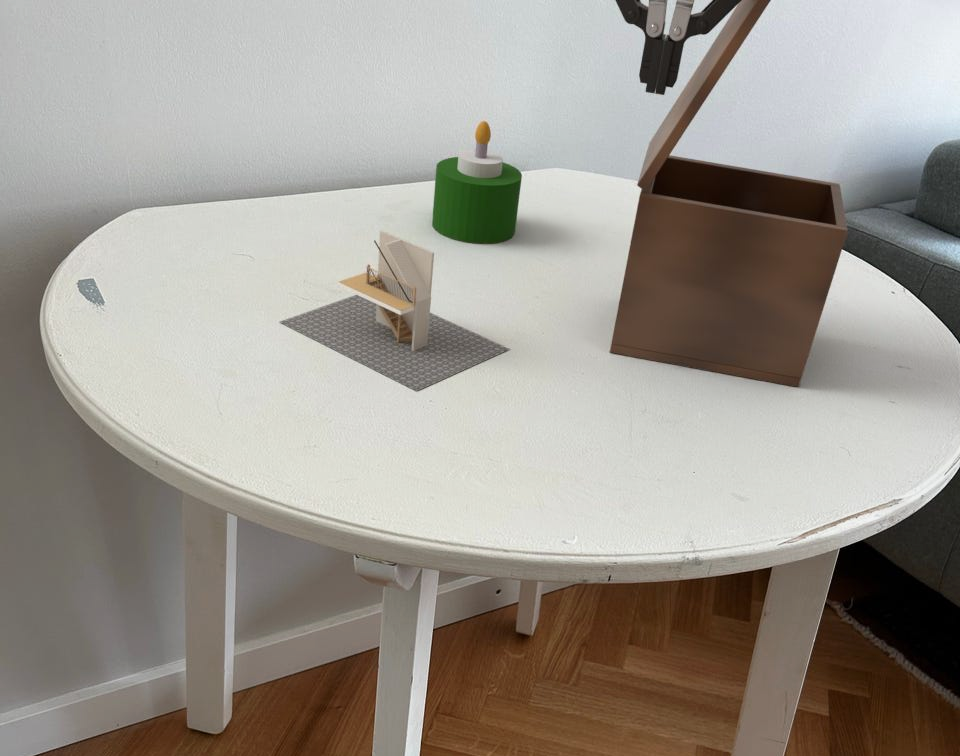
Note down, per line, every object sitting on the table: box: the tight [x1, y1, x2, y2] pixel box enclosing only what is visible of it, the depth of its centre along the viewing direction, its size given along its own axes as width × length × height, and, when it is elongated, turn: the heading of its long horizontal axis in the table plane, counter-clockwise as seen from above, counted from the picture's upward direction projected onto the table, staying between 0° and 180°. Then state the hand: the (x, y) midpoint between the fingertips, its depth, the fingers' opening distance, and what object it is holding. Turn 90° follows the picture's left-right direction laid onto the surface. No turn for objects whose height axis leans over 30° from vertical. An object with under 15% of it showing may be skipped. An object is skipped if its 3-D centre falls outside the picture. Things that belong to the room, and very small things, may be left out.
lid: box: [636, 0, 772, 191], centre depth 83 cm, size 16×12×1 cm
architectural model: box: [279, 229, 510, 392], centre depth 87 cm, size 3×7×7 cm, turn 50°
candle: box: [431, 120, 523, 245], centre depth 107 cm, size 8×8×10 cm
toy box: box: [609, 154, 849, 388], centre depth 91 cm, size 16×12×13 cm
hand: (655, 91), depth 84 cm, fingers closed
